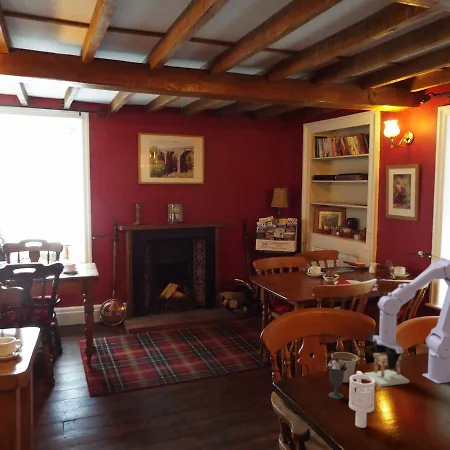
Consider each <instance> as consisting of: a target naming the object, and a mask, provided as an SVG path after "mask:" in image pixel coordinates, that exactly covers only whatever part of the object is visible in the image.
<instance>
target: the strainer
mask: <svg viewBox="0 0 450 450" xmlns="http://www.w3.org/2000/svg"><path fill="white" fill-rule="evenodd" d="M355 380H356V381H355ZM362 380H366V381H370V382H369V383H363V382H362ZM375 386H376V383H375V380H374V379H373V378H372V377H370V376H367V375H364V373H363V372H362V371H360V370H357V371H356V374H354V375H352V376H350V382H349V391H348V392H349V395H348V399H349V401H348V407H349V408H350V410H353V411H355V422H354V423H355V425H354V426H356V427H358V428H361V429H362V428H366V427H367V413H371V412H374V410H375Z"/></svg>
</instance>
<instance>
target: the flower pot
mask: <svg viewBox="0 0 450 450" xmlns="http://www.w3.org/2000/svg"><path fill="white" fill-rule="evenodd" d="M332 353H333V354H332ZM332 353H331V358H332V357H333V358H334V357H337V358H338V359H340V360H341V361H342V364H344V363H346V364H345V366H347V370H346V371H345V372H344V377H343V382H342V384H343V383H350V376H352V375H355V370H356V364H357V362H358V360H359V356H357V355H356V354H353V353H351V352H344V351H342V352H341V351H339V352H332ZM334 355H335V356H334Z"/></svg>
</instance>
